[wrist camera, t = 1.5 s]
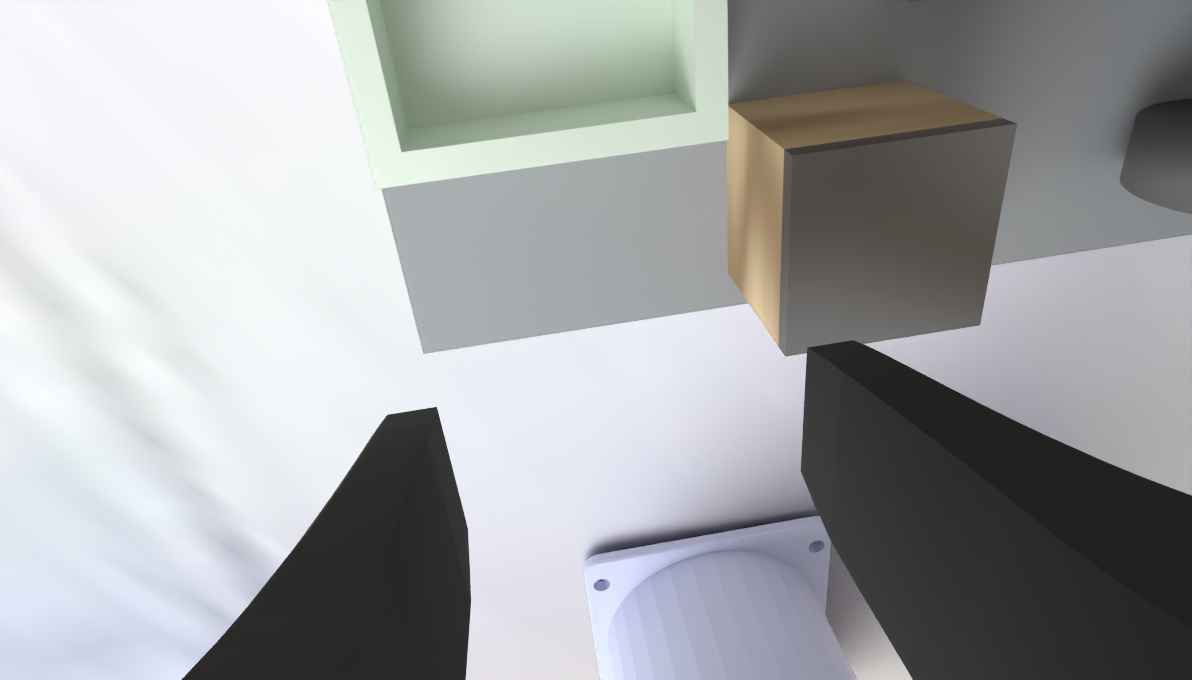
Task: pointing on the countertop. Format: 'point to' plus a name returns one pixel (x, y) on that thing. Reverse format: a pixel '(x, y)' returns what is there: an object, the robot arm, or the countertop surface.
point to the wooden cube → (864, 211)
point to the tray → (529, 81)
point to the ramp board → (783, 68)
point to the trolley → (1161, 156)
